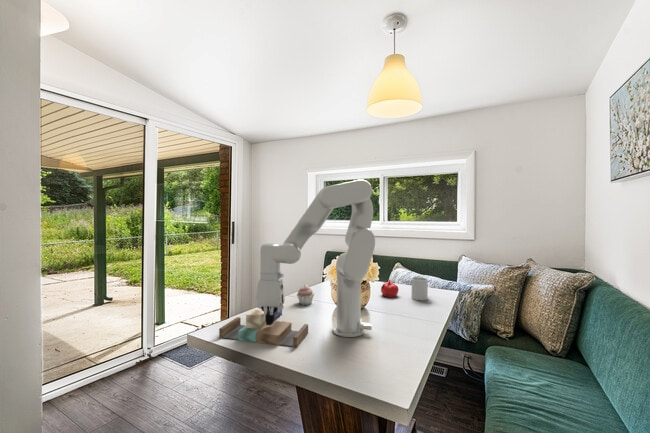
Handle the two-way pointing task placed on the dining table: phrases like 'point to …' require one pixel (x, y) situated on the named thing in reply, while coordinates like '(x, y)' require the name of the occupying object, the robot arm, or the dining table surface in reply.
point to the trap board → (264, 333)
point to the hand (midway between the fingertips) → (269, 323)
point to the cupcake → (305, 295)
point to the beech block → (255, 319)
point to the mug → (419, 288)
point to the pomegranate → (389, 289)
